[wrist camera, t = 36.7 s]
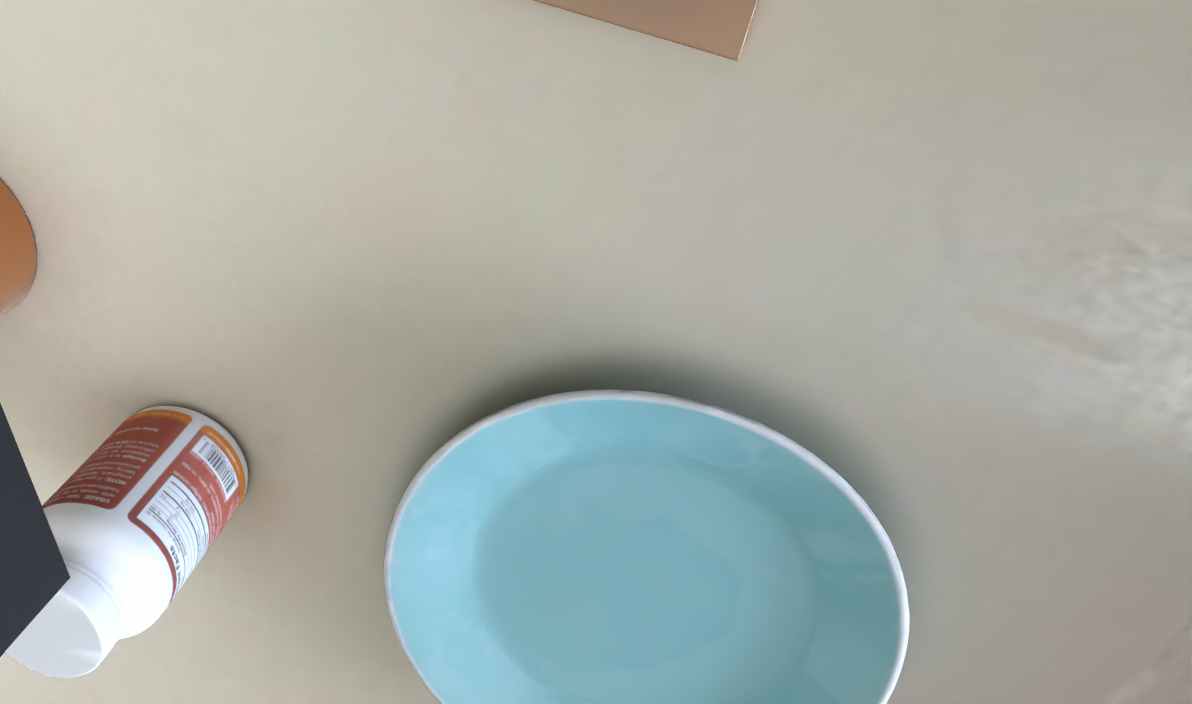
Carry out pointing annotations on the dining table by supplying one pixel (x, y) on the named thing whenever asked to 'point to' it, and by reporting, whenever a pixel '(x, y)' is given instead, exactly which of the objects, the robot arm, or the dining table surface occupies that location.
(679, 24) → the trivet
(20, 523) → the robot arm
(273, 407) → the dining table surface
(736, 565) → the plate
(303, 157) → the dining table surface
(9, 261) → the jam jar
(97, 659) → the pill bottle
